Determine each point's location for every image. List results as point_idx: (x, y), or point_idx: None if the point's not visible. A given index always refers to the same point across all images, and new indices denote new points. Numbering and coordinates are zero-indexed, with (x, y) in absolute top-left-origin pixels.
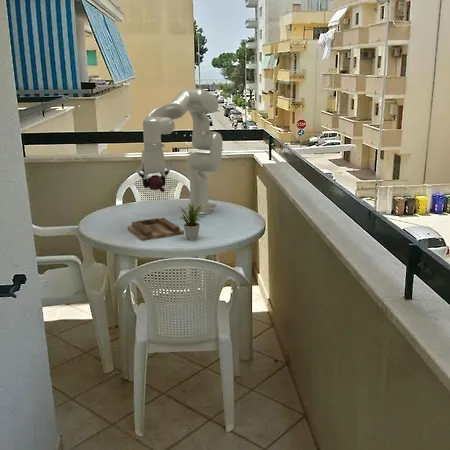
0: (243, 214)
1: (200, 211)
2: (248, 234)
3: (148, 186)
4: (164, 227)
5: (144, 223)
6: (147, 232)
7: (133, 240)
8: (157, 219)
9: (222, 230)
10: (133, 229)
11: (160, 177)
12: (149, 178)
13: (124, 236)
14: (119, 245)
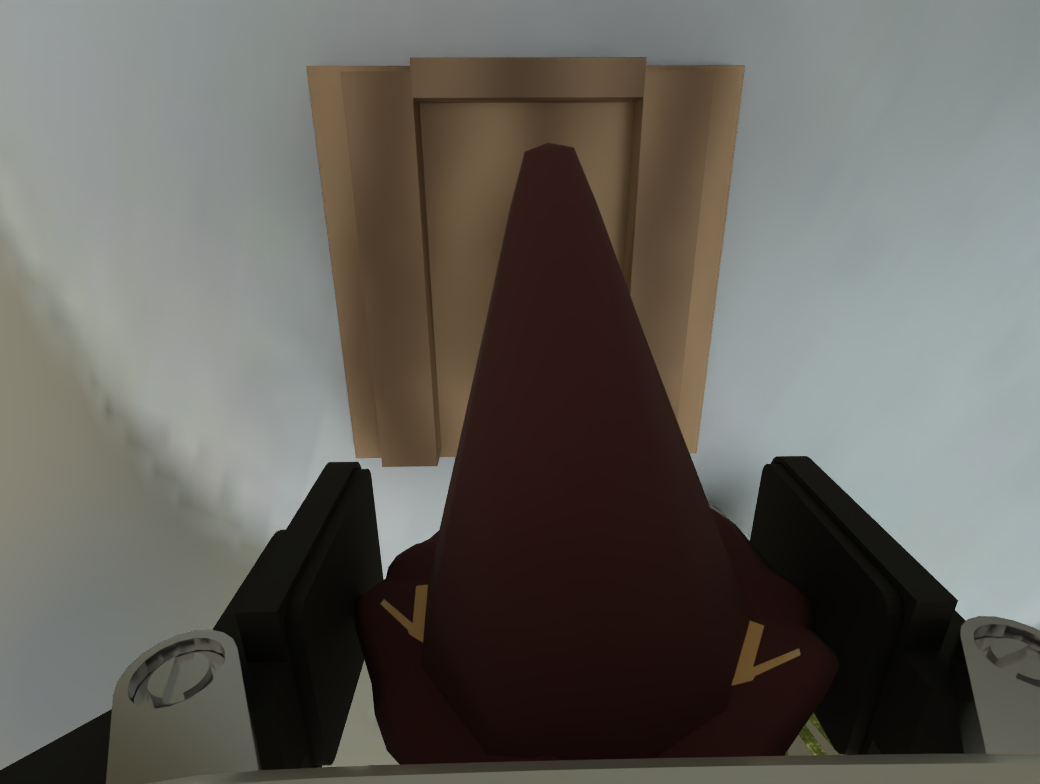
0: None
1: (820, 746)
2: (1016, 619)
3: (408, 569)
4: None
5: (482, 100)
6: (396, 464)
7: (303, 409)
8: (631, 98)
9: (963, 482)
10: (341, 209)
11: (824, 687)
12: (407, 759)
13: (254, 279)
14: (189, 467)
